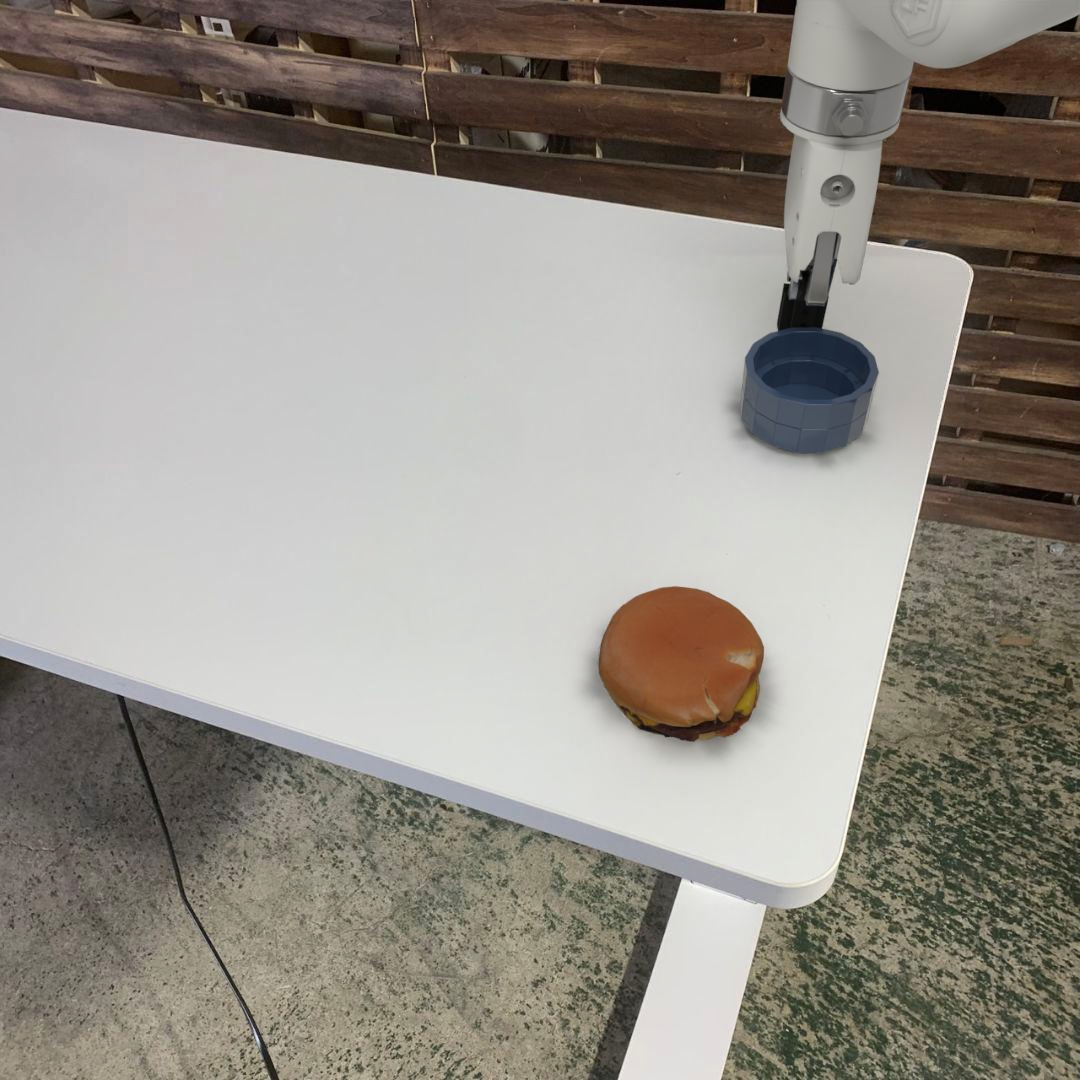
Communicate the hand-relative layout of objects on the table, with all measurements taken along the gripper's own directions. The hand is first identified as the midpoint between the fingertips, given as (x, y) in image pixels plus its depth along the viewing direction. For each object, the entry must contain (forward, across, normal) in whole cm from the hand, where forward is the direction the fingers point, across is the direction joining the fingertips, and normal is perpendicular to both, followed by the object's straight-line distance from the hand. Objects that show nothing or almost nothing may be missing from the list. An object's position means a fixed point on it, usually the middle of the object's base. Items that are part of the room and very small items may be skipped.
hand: (797, 333), depth 75 cm
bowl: (+3, -7, 0) cm, 7 cm away
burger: (+3, -31, +8) cm, 32 cm away
